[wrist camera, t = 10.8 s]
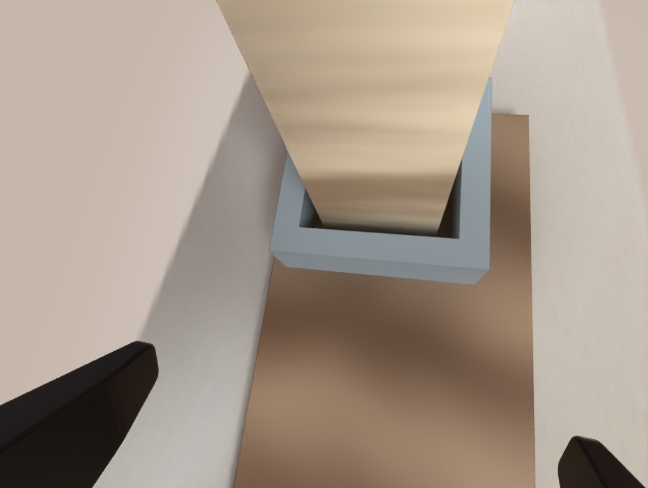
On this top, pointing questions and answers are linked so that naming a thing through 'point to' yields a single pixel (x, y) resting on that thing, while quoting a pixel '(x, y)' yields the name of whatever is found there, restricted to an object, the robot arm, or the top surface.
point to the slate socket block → (391, 249)
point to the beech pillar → (372, 98)
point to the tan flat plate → (403, 365)
